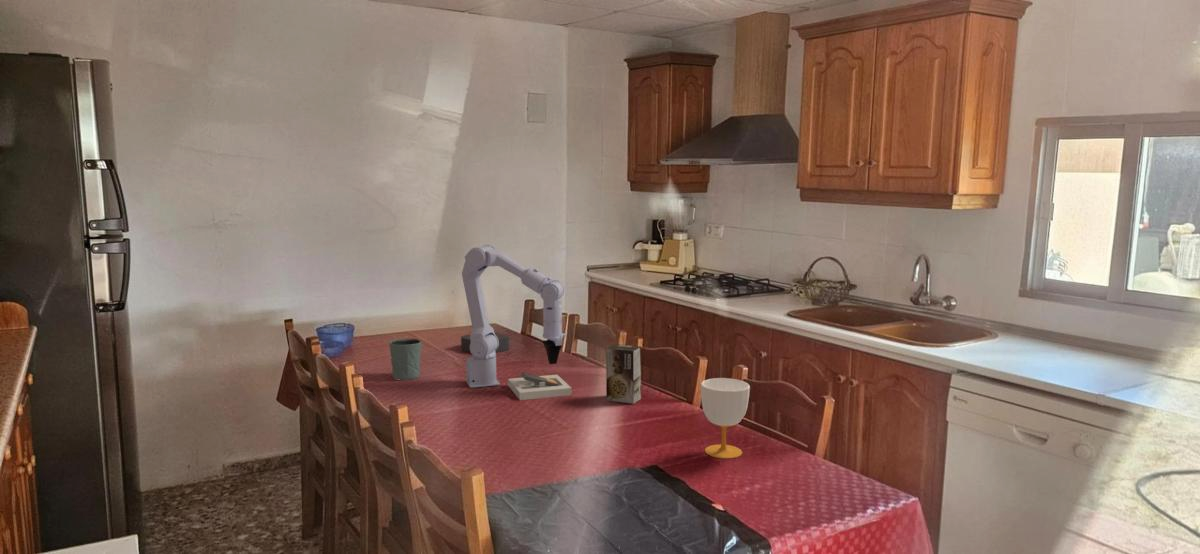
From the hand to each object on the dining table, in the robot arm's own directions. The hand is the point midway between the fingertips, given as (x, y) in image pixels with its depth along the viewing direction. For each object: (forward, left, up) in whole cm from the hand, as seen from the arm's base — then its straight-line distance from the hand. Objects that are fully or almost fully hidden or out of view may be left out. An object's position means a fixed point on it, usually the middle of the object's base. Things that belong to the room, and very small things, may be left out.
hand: (552, 363), depth 243 cm
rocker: (-4, 0, -6) cm, 7 cm away
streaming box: (-10, +59, -9) cm, 61 cm away
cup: (+25, -65, -8) cm, 70 cm away
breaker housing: (-4, 0, -8) cm, 9 cm away
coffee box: (+17, -17, -8) cm, 26 cm away
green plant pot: (-42, +29, -8) cm, 52 cm away
